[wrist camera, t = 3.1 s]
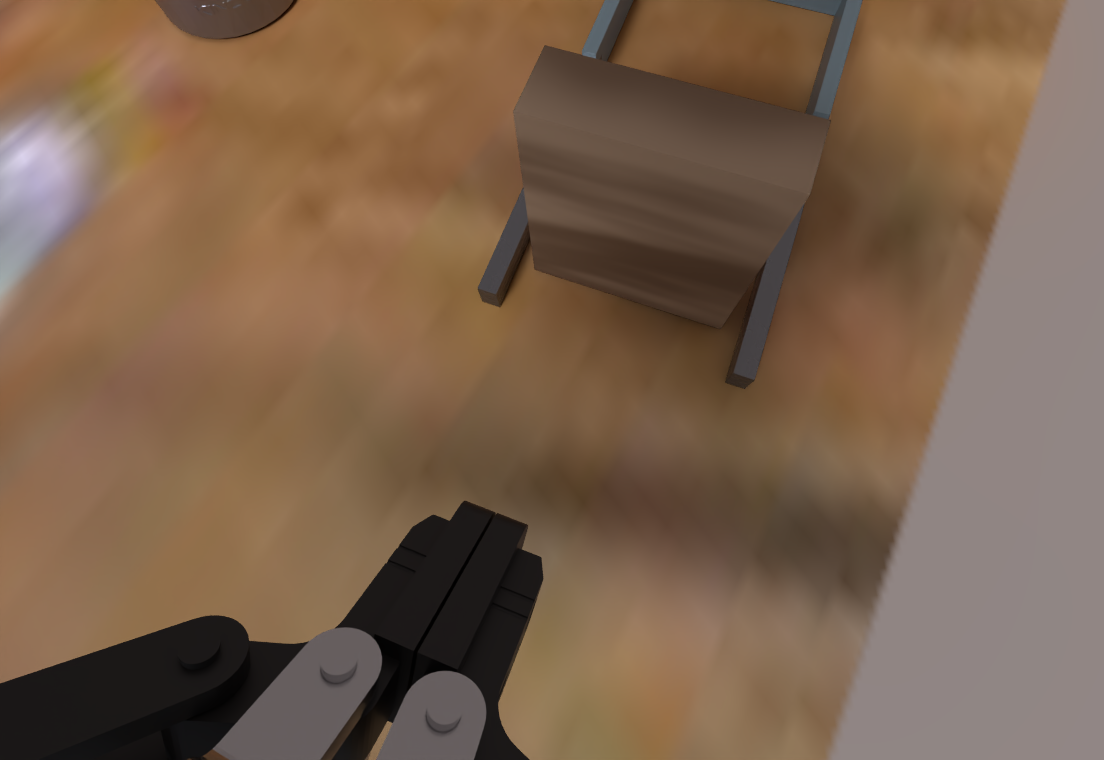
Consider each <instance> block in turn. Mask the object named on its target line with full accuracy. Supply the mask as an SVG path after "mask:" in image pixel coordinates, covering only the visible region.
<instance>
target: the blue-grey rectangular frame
mask: <svg viewBox="0 0 1104 760" xmlns="http://www.w3.org/2000/svg"><path fill="white" fill-rule="evenodd" d="M770 1H775V2H779V3H783V4H787V5H792V6H796V7H800V8H804V9H808V10H813V11H817V12H821V13H825V14H830V15H834V19H833V23H832V26H831V29H830V33H829V36H828V39H827V43H826V46H825V49H824V53H823V56H822V60H821V63H820V66H819V70H818V73H817V76H816V80H815V83H814V86H813V90H812V93H811V96H810V100H809V103H808V106H807V110H806V113H805V114H809V115H813V116H817V117H821V118H825V119H828V118H829V116H830V113H831V110H832V106H833V103H834V99H835V96H836V92H837V89H838V85H839V81H840V78H841V74H842V71H843V67H844V64H845V60H846V57H847V53H848V50H849V46H850V43H851V39H852V36H853V32H854V29H855V25H856V22H857V18H858V14H859V11H860V7H861V4H862V0H770ZM632 2H633V0H605V1H604V4H603V6H602V8H601V10H600V12H599V15H598V17H597V19H596V21H595V23H594V26H593V28H592V30H591V32H590V34H589V37H588V39H587V41H586V43H585V45H584V48H583V50H582V55H584V56H588V57H592V58H595V59H599V60H600V57H601V55H602V60H603V61H607V60H608V57H609V55H610V53H611V51H612V48H613V46H614V44H615V41H616V39H617V37H618V34H619V32H620V30H621V28H622V25H623V23H624V21H625V18H626V16H627V14H628V11H629V9H630V7H631V5H632Z"/></svg>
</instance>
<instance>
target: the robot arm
mask: <svg viewBox="0 0 1104 760" xmlns="http://www.w3.org/2000/svg"><path fill="white" fill-rule="evenodd" d="M155 1H156V2H157V4H158V5H159V6H160V8H161V9H162V10H163V12H164V13H165V14H166V16H167V17H168V18H169V19H170V21H171V22H172V23H173V24H174V25H176V26H177V27H178V28H179V29H181V30H183V31H185V32H187V33H189V34H191V35H195V36H199V37H203V38H215V39H222V38H231V37H237V36H241V35H244V34H248V33H251V32H253V31H255V30H258V29H260V28H262V27H264V26H266V25H267V24H269V23H271V22H272V21H274V20H275V19H277V18H278V17H279V16H280V15H281V14H282V13H283V12H284V11H285V10H286V9H288V7H289V6H290V5H291V3H292V2H293V0H155ZM527 529H528V525H527V524H524V523H522V522H519V521H517V520H514V519H511V518H509V517H506V516H504V515H501V514H499V513H497V514H496V513H495V512H493V511H490V510H488V509H485V508H483V507H480V506H478V505H475V504H473V503H470V502H467V501H464V502H463V503H462V504H461V505H460V506H459V508H458V509H457V511H456V512H455V514H454V515H453V517H452V518H451V520H450V521H448V520H446V519H443V518H441V517H438V516H436V515H431V516H430V517H428V518H427V519H425V520H423V521H422V522H420V523H418V524H417V525H415V526H413V527H412V529H411V530H410V531H409V533H408V534H407V535H406V537H405V538H404V539H403V541H402V542H401V543H400V545H399V547H398V549H396V550H395V551H394V553H393V554H392V555H391V557H390V558H389V559H388V562H387V564H386V563H385V565H384V566H383V567H382V569H381V570H380V572H379V573H378V574H377V576H376V577H375V578H374V580H373V581H372V582H371V584H370V585H369V586H368V588H367V589H366V590H365V592H364V593H363V594H362V596H361V597H360V598H359V600H358V601H357V602H356V604H355V605H354V606H353V608H352V609H351V610H350V612H349V613H348V614H347V616H346V617H345V618H344V620H343V621H342V622H341V623H340V624H339V625H338V626H337V627H336V628H335V629H331V630H328V631H326V632H323V633H321V634H319V635H317V636H316V637H315V638H313V639H312V640H310V641H309V642H305V643H298V644H282V643H269V642H256V641H249V638H248V634H247V632H246V630H245V628H244V627H243V626H242V625H241V624H240V623H239V622H238V621H236V620H234V619H232V618H229V617H225V616H204V617H200V618H196V619H192V620H189V621H186V622H183V623H180V624H177V625H174V626H171V627H168V628H165V629H162V630H159V631H156V632H153V633H150V634H147V635H144V636H141V637H138V638H135V639H132V640H129V641H126V642H123V643H120V644H117V645H114V646H111V647H108V648H105V649H102V650H99V651H96V652H93V653H90V654H87V655H84V656H81V657H78V658H75V659H72V660H69V661H66V662H63V663H60V664H57V665H54V666H51V667H48V668H45V669H42V670H39V671H36V672H33V673H30V674H27V675H24V676H21V677H18V678H15V679H12V680H9V681H6V682H3V683H0V760H368V758H369V756H370V752H371V750H372V748H373V746H374V744H375V742H376V741H377V739H378V737H379V735H380V733H381V732H382V730H383V728H384V726H385V724H386V722H387V721H390V722H392V723H393V724H392V726H391V728H390V730H389V733H388V735H387V737H386V739H385V741H384V744H383V746H382V748H381V750H380V752H379V755H378V757H377V759H376V760H529V759H528V758H527V757H526V756H525V755H524V754H523V753H522V752H521V751H520V750H519V749H518V748H517V747H516V746H515V745H514V744H513V743H512V742H511V740H510V739H509V737H508V736H507V734H506V733H505V731H504V729H503V726H502V724H501V720H500V717H499V711H498V702H499V700H500V697H501V695H502V692H503V689H504V687H505V684H506V681H507V679H508V676H509V674H510V671H511V668H512V666H513V663H514V661H515V658H516V655H517V653H518V650H519V647H520V645H521V642H522V640H523V637H524V635H525V632H526V629H527V627H528V624H529V621H530V618H531V615H532V612H533V609H534V606H535V603H536V600H537V597H538V594H539V591H540V588H541V585H542V581H543V571H542V560H541V557H539V556H537V555H534V554H532V553H529V552H527V551H524V550H522V547H523V543H524V540H525V536H526V533H527Z"/></svg>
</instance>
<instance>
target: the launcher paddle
mask: <svg viewBox="0 0 1104 760" xmlns="http://www.w3.org/2000/svg"><path fill="white" fill-rule="evenodd" d="M513 113H514V121H515V128H516V136H517V143H518V150H519V158H520V165H521V173H522V180H523V187H524V195H525V202H526V210H527V217H528V224H529V232H530V239H531V247H532V254H533V261H534V269H535V270H538V271H541V272H544V273H547V274H550V275H553V276H556V277H559V278H563V279H566V280H569V281H572V282H575V283H578V284H581V285H584V286H587V287H591V288H594V289H597V290H600V291H603V292H606V293H609V294H612V295H616V296H619V297H622V298H625V299H628V300H631V301H634V302H637V303H640V304H644V305H647V306H650V307H653V308H656V309H659V310H662V311H665V312H668V313H672V314H675V315H678V316H681V317H684V318H687V319H690V320H693V321H697V322H700V323H703V324H706V325H709V326H712V327H715V328H718V329H721V328H722V326H723V325H724V323H725V322H726V320H727V319H728V317H729V316H730V314H731V313H732V311H733V310H734V308H735V307H736V305H737V304H738V302H739V301H740V299H741V298H742V296H743V295H744V293H745V292H746V290H747V289H748V287H749V286H750V284H751V283H752V281H753V280H754V278H755V277H756V275H757V274H758V272H759V271H760V269H761V268H762V266H763V265H764V263H765V262H766V260H767V259H768V257H769V256H770V254H771V253H772V251H773V250H774V248H775V247H776V245H777V244H778V242H779V241H780V239H781V238H782V236H783V235H784V233H785V232H786V230H787V229H788V227H789V226H790V224H791V223H792V221H793V220H794V218H795V217H796V215H797V214H798V212H799V211H800V209H801V208H802V206H803V205H804V203H805V201H806V200H807V198H808V197H809V195H810V193H811V189H812V186H813V182H814V179H815V175H816V172H817V168H818V165H819V161H820V158H821V154H822V150H823V147H824V143H825V140H826V136H827V133H828V129H829V126H830V122H831V120H828V119H825V118H821V117H817V116H813V115H809V114H805V113H802V112H798V111H794V110H790V109H786V108H783V107H779V106H775V105H771V104H767V103H763V102H760V101H756V100H752V99H748V98H744V97H741V96H737V95H733V94H729V93H725V92H721V91H718V90H714V89H710V88H706V87H702V86H698V85H695V84H691V83H687V82H683V81H679V80H676V79H672V78H668V77H664V76H660V75H656V74H653V73H649V72H645V71H641V70H637V69H634V68H630V67H626V66H622V65H618V64H614V63H611V62H607V61H603V60H599V59H595V58H592V57H588V56H584V55H580V54H576V53H572V52H569V51H565V50H561V49H557V48H553V47H549V46H546V45H545V46H544V48H543V50H542V52H541V54H540V56H539V58H538V61H537V63H536V65H535V67H534V69H533V71H532V73H531V75H530V77H529V79H528V81H527V83H526V86H525V88H524V90H523V92H522V94H521V96H520V98H519V100H518V102H517V104H516V106H515V109H514V111H513Z"/></svg>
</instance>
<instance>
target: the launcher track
mask: <svg viewBox="0 0 1104 760" xmlns="http://www.w3.org/2000/svg"><path fill="white" fill-rule="evenodd" d="M600 60H602V55H601V57H600ZM828 119H829V118H828ZM804 204H805V203H804ZM803 207H804V205H803V206H802V208H801V209H800V211H799V212H798V214H797V215H796V217H795V218H794V220H793V221H792V223H791V224H790V226H789V227H788V229H787V230H786V232H785V233H784V235H783V236H782V238H781V239H780V241H779V242H778V244H777V245H776V247H775V248H774V250H773V251H772V253H771V254H770V256H769V257H768V259H767V260H766V262H765V263H764V265H763V266H762V268H761V269H760V271H759V272H758V274H757V277H756V280H755V284H754V287H753V290H752V294H751V297H750V300H749V304H748V307H747V310H746V314H745V317H744V320H743V324H742V327H741V330H740V334H739V337H738V340H737V344H736V347H735V350H734V354H733V357H732V361H731V364H730V367H729V371H728V374H727V377H726V381H725V382H726V383H729V384H732V385H735V386H738V387H741V388H744V389H745V388H747V387H748V386H749V385H750V384H751V383H752V382H753V381H754V380H755V377H756V373H757V369H758V366H759V362H760V359H761V355H762V352H763V348H764V345H765V341H766V338H767V334H768V331H769V327H770V324H771V320H772V317H773V313H774V310H775V306H776V303H777V299H778V295H779V292H780V288H781V285H782V281H783V278H784V274H785V271H786V267H787V264H788V260H789V257H790V253H791V250H792V246H793V243H794V239H795V236H796V232H797V229H798V225H799V221H800V218H801V214H802V211H803ZM529 239H530V232H529V224H528V217H527V210H526V202H525V195H524V187H523V189H522V191H521V193H520V196H519V198H518V200H517V202H516V204H515V207H514V209H513V211H512V213H511V215H510V218H509V220H508V222H507V224H506V227H505V229H504V231H503V233H502V235H501V238H500V240H499V242H498V244H497V246H496V249H495V251H494V253H493V255H492V258H491V260H490V262H489V264H488V266H487V269H486V271H485V273H484V275H483V277H482V280H481V282H480V284H479V286H478V291H479V294H480V296H481V299H482V301H483V302H486V303H489V304H492V305H495V306H498V307H500V306H501V303H502V301H503V299H504V297H505V294H506V292H507V290H508V287H509V285H510V283H511V280H512V278H513V276H514V274H515V271H516V269H517V267H518V264H519V262H520V260H521V257H522V255H523V253H524V251H525V248H526V246H527V244H528V241H529Z"/></svg>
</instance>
